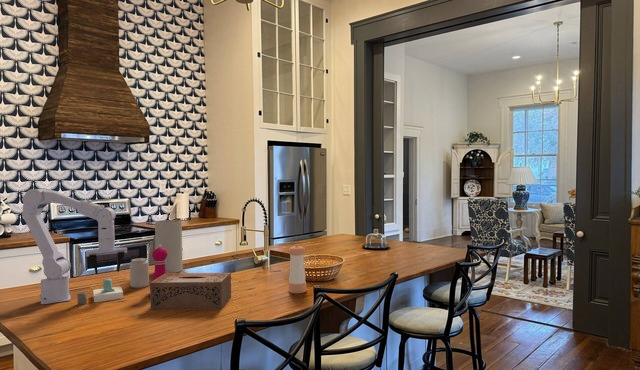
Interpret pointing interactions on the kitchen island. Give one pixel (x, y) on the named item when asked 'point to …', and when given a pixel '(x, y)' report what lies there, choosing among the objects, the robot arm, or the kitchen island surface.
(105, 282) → the long dowel
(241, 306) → the kitchen island surface
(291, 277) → the pepper shaker
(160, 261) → the pepper mill
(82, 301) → the short dowel
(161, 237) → the cylinder vase
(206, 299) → the tissue box cover
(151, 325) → the kitchen island surface
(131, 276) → the can
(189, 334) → the kitchen island surface
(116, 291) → the hole block
